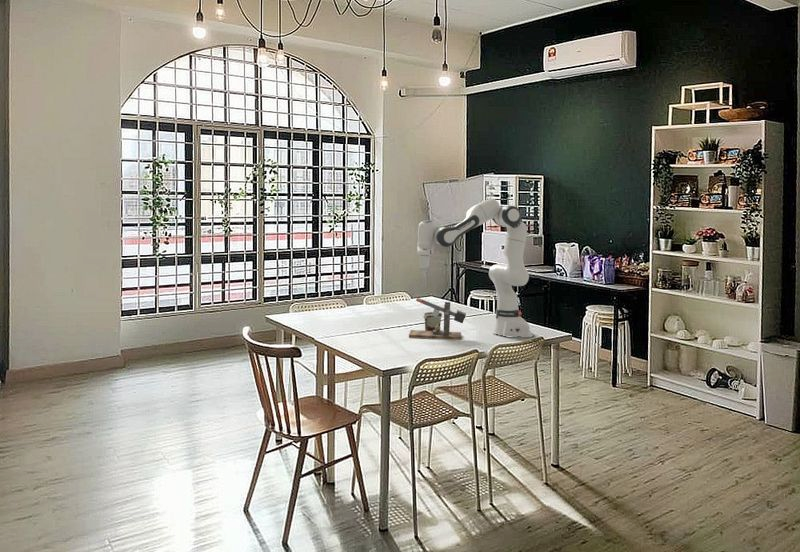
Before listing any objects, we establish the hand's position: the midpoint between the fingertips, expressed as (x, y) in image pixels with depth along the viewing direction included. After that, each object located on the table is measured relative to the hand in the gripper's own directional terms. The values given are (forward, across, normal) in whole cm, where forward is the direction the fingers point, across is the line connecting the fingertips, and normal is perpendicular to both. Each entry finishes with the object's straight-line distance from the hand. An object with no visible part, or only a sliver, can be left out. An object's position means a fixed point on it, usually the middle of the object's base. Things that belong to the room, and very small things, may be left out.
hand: (424, 275), depth 377 cm
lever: (+22, 0, +8) cm, 24 cm away
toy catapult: (+33, 0, +7) cm, 34 cm away
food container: (+33, -14, +3) cm, 36 cm away
